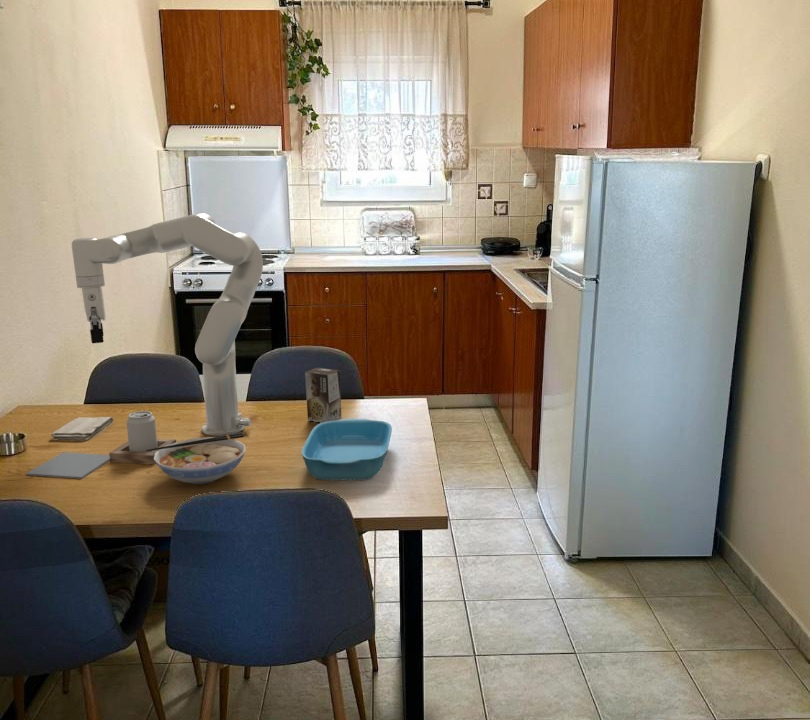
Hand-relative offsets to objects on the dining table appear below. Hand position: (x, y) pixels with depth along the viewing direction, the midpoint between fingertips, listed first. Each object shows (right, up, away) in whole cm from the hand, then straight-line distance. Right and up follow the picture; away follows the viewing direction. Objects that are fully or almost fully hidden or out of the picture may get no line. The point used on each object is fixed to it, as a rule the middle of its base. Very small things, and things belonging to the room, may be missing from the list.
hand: (97, 339), depth 234 cm
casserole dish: (+75, -34, -19) cm, 84 cm away
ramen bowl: (+38, -37, -30) cm, 61 cm away
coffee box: (+65, -25, +16) cm, 71 cm away
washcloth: (-8, -28, +9) cm, 31 cm away
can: (+17, -33, -12) cm, 39 cm away
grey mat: (+1, -34, -19) cm, 39 cm away
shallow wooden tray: (+17, -32, -12) cm, 39 cm away
